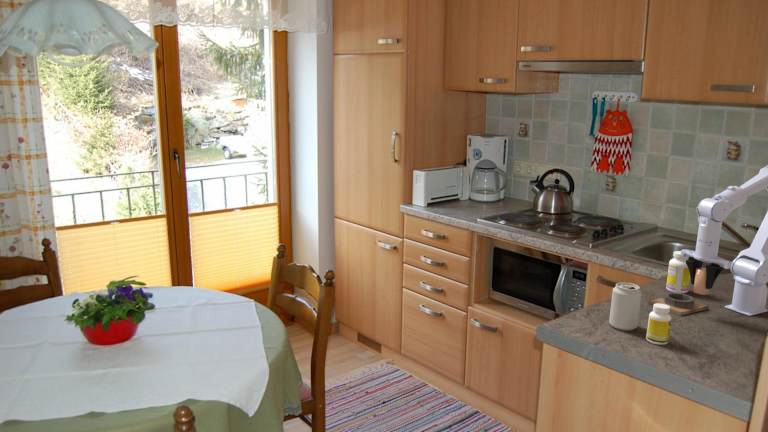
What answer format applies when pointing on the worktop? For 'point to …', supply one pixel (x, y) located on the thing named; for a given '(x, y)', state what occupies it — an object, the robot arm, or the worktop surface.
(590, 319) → the worktop surface
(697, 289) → the peach rounded peg
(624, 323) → the can
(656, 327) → the supplement bottle
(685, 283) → the supplement bottle
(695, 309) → the octagonal holder plate
